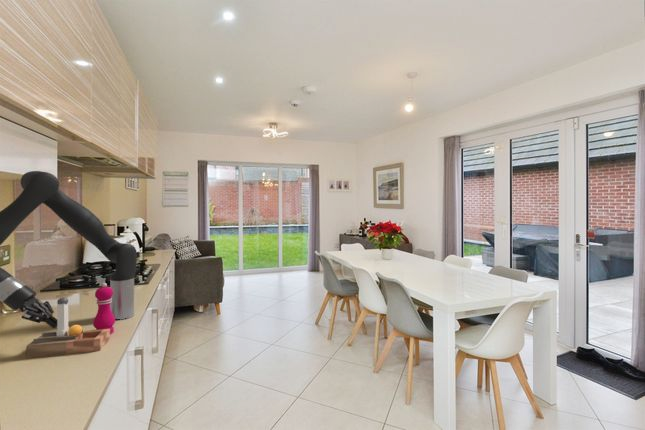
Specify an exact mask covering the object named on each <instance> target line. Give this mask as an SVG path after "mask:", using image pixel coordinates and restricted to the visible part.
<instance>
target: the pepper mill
mask: <svg viewBox="0 0 645 430" xmlns="http://www.w3.org/2000/svg"><path fill="white" fill-rule="evenodd" d="M112 295H113V289H112V288H110V286H108V284H107V283H106V282H103V283H101V287H98V288H97V289H96V290H95V292H94V296H95V298H96V305H97V313H96V315H95V317H94V318H93V321H92V326H93V327H94V329H95V330H100V329H110V335H112V334H113V333H114V332H115V328H114V325H115V323H116V320H115V317H114V315H113V313H112V312H111V309H110V304H111V302H112V301H111V300H112V298H111V297H112ZM111 333H112V334H111Z"/></svg>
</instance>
